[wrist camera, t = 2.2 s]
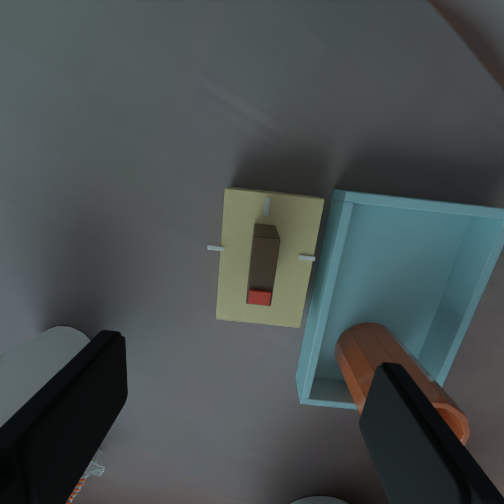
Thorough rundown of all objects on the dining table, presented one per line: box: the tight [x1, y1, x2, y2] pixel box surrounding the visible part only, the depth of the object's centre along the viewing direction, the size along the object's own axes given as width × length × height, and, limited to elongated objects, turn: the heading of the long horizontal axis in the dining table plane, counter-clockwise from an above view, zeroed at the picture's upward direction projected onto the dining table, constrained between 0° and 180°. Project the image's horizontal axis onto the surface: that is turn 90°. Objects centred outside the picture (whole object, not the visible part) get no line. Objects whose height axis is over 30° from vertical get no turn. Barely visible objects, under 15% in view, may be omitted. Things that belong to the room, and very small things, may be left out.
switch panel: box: [207, 187, 324, 328], centre depth 22 cm, size 12×9×3 cm
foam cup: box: [0, 326, 91, 427], centre depth 22 cm, size 10×9×13 cm
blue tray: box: [296, 189, 504, 409], centre depth 24 cm, size 22×14×3 cm, turn 174°
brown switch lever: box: [246, 223, 280, 306], centre depth 19 cm, size 5×2×5 cm, turn 174°
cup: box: [335, 323, 471, 446], centre depth 22 cm, size 7×7×10 cm
